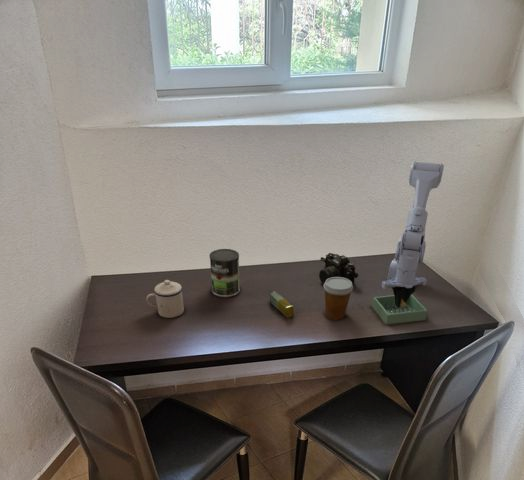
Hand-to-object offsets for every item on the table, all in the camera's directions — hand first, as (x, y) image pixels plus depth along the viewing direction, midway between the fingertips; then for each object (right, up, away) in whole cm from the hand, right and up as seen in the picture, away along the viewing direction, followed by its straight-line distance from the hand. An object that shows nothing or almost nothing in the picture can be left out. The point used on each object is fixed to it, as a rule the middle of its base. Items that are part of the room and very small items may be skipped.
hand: (399, 305), depth 154 cm
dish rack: (0, -2, +2) cm, 3 cm away
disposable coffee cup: (-21, -3, +2) cm, 22 cm away
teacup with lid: (-78, -2, +3) cm, 78 cm away
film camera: (-18, +11, +21) cm, 30 cm away
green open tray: (0, -3, +2) cm, 3 cm away
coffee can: (-59, +7, +15) cm, 61 cm away
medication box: (-39, -1, +4) cm, 40 cm away
